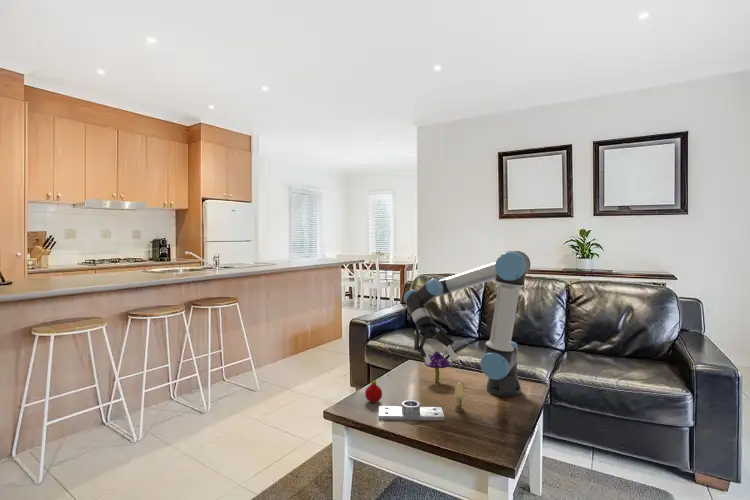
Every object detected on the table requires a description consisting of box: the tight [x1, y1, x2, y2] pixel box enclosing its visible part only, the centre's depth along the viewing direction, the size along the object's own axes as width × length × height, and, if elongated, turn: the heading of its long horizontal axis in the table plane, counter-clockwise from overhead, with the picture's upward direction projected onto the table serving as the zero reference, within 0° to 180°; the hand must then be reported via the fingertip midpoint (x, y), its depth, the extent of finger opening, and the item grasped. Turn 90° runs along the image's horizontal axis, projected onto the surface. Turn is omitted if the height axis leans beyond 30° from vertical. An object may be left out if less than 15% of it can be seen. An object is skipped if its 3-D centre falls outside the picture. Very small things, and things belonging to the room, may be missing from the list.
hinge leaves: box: [378, 399, 445, 422], centre depth 159 cm, size 25×9×4 cm, turn 88°
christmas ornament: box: [364, 378, 383, 403], centre depth 171 cm, size 7×7×10 cm
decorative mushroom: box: [423, 350, 451, 383], centre depth 197 cm, size 12×12×15 cm
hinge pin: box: [454, 381, 465, 413], centre depth 163 cm, size 4×4×11 cm
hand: (442, 361), depth 173 cm, fingers open, 13 cm apart
